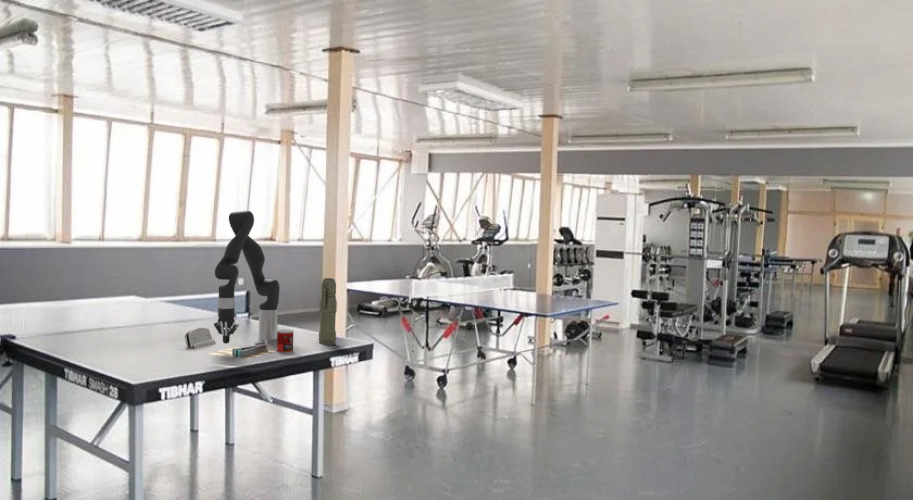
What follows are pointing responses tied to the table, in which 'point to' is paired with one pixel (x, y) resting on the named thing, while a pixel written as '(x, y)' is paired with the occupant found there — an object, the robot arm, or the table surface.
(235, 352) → the tong arm
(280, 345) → the canned food
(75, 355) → the table surface
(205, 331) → the grey curved block
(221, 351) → the board
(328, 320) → the green moai statue
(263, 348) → the tongs fixed
